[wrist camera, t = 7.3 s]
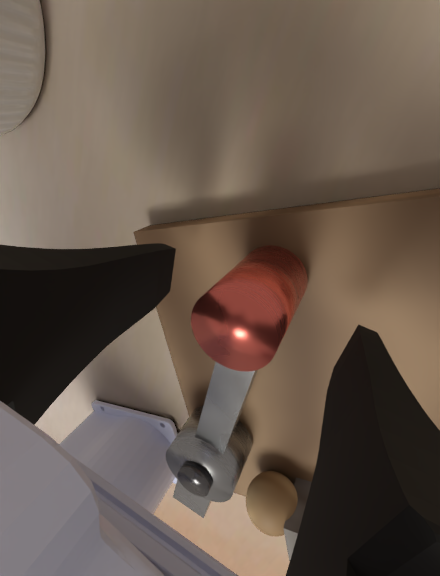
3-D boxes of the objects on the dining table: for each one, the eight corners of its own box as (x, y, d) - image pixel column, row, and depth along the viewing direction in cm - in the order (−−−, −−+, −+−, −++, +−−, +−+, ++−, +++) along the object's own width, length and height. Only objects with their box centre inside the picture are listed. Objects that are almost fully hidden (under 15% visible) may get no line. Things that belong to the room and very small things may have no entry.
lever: (233, 488, 22) (202, 562, 18) (181, 455, 23) (142, 518, 19) (336, 265, 12) (315, 326, 8) (237, 229, 13) (179, 266, 9)
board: (218, 466, 25) (188, 526, 21) (150, 225, 17) (86, 250, 14) (444, 538, 18) (461, 649, 14) (486, 182, 10) (547, 209, 7)
